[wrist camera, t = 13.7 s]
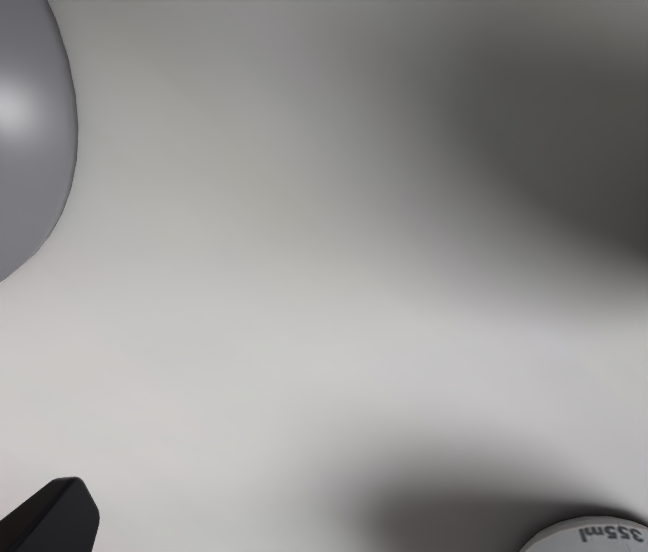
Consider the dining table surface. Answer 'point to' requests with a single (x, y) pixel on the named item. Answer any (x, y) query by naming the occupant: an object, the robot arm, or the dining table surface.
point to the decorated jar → (590, 536)
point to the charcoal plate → (33, 129)
